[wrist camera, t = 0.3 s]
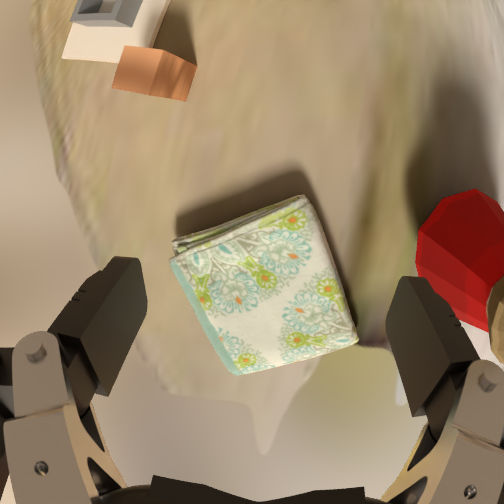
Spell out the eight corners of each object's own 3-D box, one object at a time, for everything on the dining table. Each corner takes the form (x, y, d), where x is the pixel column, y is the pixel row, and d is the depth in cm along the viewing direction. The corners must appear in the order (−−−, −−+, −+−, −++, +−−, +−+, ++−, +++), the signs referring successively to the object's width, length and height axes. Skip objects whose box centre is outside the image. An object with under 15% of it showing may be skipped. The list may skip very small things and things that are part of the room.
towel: (307, 183, 34) (306, 192, 30) (358, 331, 40) (362, 355, 35) (173, 236, 40) (156, 251, 35) (240, 360, 46) (232, 383, 41)
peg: (164, 60, 31) (124, 45, 23) (197, 66, 31) (163, 49, 22) (153, 94, 33) (111, 88, 24) (185, 101, 32) (148, 95, 24)
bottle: (378, 218, 34) (440, 313, 15) (464, 157, 29) (580, 196, 10) (430, 311, 37) (482, 424, 18) (504, 259, 32) (587, 342, 13)
